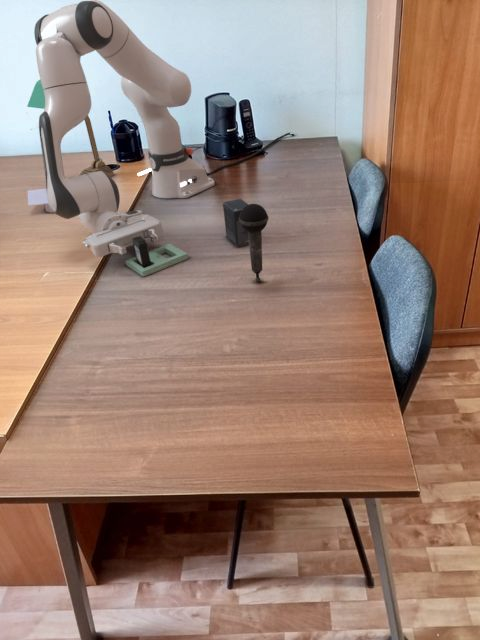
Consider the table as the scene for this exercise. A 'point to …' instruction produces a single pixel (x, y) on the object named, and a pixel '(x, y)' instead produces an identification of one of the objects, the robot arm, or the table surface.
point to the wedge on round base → (39, 198)
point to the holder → (158, 259)
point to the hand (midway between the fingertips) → (140, 245)
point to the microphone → (254, 233)
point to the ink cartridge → (141, 251)
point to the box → (235, 222)
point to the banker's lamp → (39, 102)
